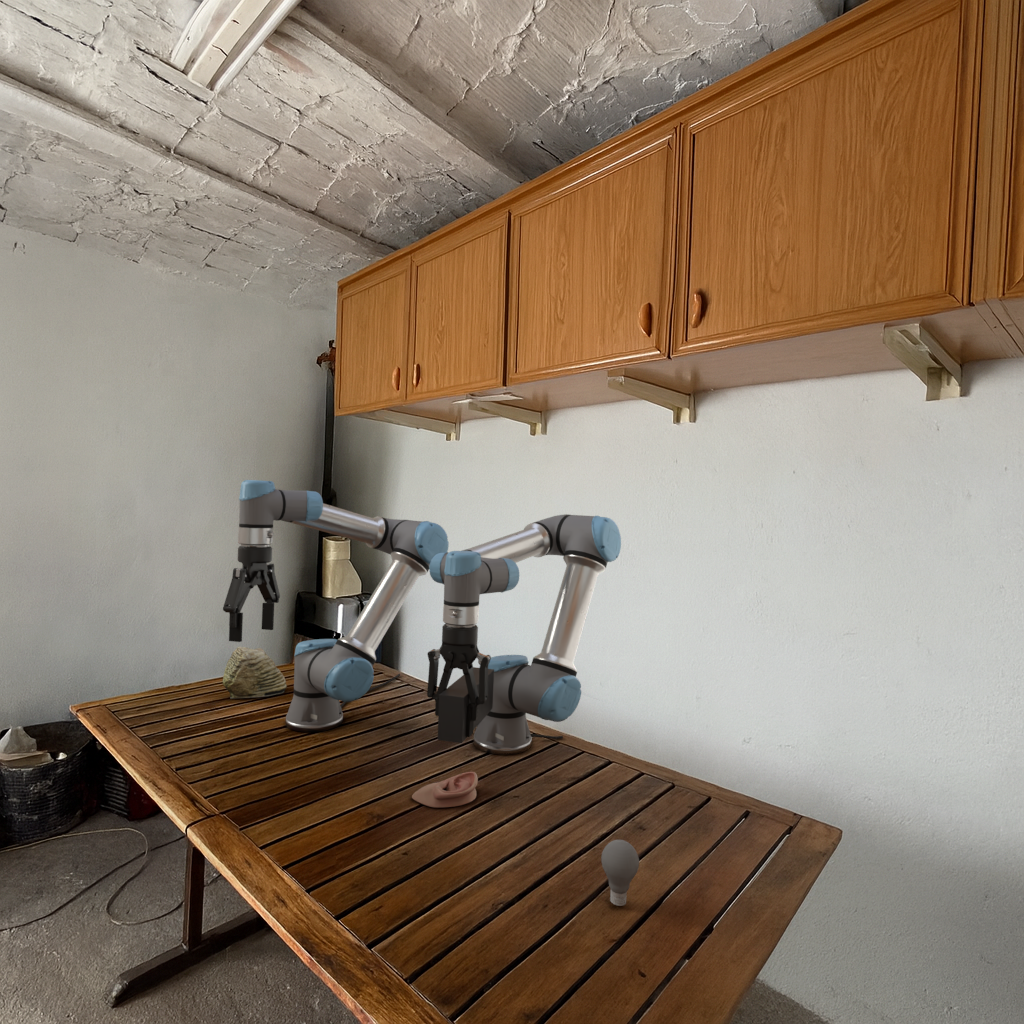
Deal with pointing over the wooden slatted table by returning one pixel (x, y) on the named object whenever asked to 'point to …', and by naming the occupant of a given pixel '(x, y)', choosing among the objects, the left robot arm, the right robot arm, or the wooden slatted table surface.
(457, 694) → the bar
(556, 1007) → the wooden slatted table surface
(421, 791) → the anatomical model
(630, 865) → the light bulb
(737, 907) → the wooden slatted table surface
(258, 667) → the fossil
